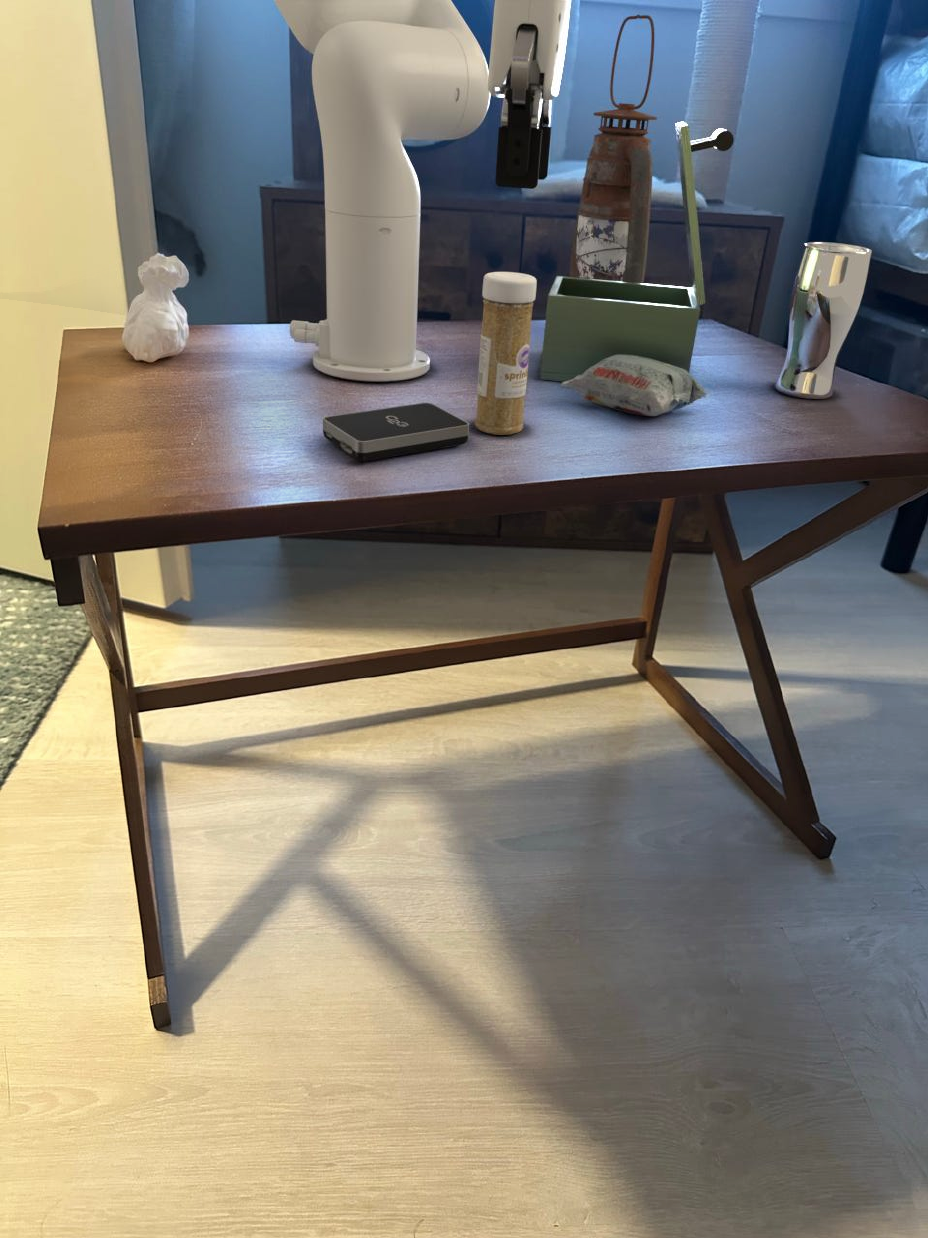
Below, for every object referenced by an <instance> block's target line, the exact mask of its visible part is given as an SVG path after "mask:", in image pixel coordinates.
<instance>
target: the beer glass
mask: <svg viewBox="0 0 928 1238" xmlns="http://www.w3.org/2000/svg"><path fill="white" fill-rule="evenodd" d="M872 252H873V250H872V249H871V248H868V247H864V246H860V245H856V244H855V245H854V244H848V243H847V244H846V243H838V242H827V241H826V242H825V241H811V242H806V243H804V248H803V252H802V255H801V258H800V262H799V264H798V269H797V271H796V275H795V279H794V283H793V287H792V293H791V297H790V298H791V299H790V305H789V321H788V337H787V339H788V340H787V348H786V349H787V350H786V355H785V360H784V364H783V366H782V369H781V371H780V374H779V376H778V378H777V381H776V383H775V389H776V390H777V391H778V392H779V393H781V394H783V395H787V396H790V397H795V398H800V399H806V400H807V399H808V400H825V399H829V398H830V397H832V396H833V393H834V382H835V372H836V366H837V362H838V359H839V356H840V353H841V351H842V348H843V346H844V345H845V341H846V339H847V337H848V335H849V332H850V330H851V329H852V326H853V323H854V321H855V319H856V317H857V313H858V312H859V309H860V305H861V302H862V300H863V295H864V293H865V287H866V284H867V279H868V274H869V268H870V261H871V257H872Z"/></svg>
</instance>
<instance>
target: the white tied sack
mask: <svg viewBox="0 0 928 1238" xmlns="http://www.w3.org/2000/svg"><path fill="white" fill-rule="evenodd" d="M137 269H138V270H137V277H138V278H139V282H140V284H141V285H142V286H143V291H142V292H141V293H139V294H137V295H136V296H135V297H134V298H133V299H132V301H131V303H130V306H129V309H128V312H127V314H126V318H125V322H124V326H123V331H122V334H121V341H122V344H123V347H124V349H126V351H127V352H128V353H129V354H130V355H131V356H132V357H133V359H134V360H135V361H143V362H147V363H153V362H155V361H157V360H158V359H159V360H160V359H164V358H167V357H173V356H178V355H179V354H180V353H181V352H182V351H183V350H184V349H185V347H186V344H187V342H188V340H189V335H190V334H189V333H190V328H189V327H190V326H189V324H188V313H187V311H186V308H185V307H184V306H183V305H182V304H181V303H180V302H179V300H178V299H177V296H176V295H175V294H174V292H173V291H176V290H177V288H185V287H186V286H187V284H188V283H189V281H190V278H189V277H190V274H189V271H188V269H187V267H186V265H185V264H184V263H183V262H182V261H181V260H180V258H178V256H177V255H171V256H166V255H165V254H164V253H160V252H157V253H155V254H154V255H153V256H150V257H149V260H145V261H144V262H143V263H142V264H141V265H139V266H138V267H137Z"/></svg>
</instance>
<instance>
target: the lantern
mask: <svg viewBox="0 0 928 1238" xmlns="http://www.w3.org/2000/svg"><path fill="white" fill-rule="evenodd" d="M637 19H639V20H642V19H643V20H644V19H647V20H648V21H649V24H650V28H651V29H650V30H651V33H650V34H651V38H650V39H651V42H650V43H651V45H650V60H649V67H648V76H647V81H646V87H645V92H644V94H643V97H642V100H641V102H640V103H639V104H638V105H636V104H635V103H622V102H619V103H618V104H617V103H616V101H615V98H614V78H615V77H614V76H615V69H616V62H617V57H618V50H619V45H620V41H621V36H622V34H623V31H624V28H625V25H626V24H627V22H628V21H630V20H637ZM654 23H655V22H654V20H653V18H652V16H650V15H648V14H642V15H640V14H639V13H638V14H636V15H629V16H627V17H626V18H624V19H623V20H622V23H621V26H620V28H619V30H618V35H617V39H616V43H615V47H614V53H613V58H612V66H611V73H610V83H609V84H610V85H609V95H610V96H609V97H610V101H611V103H612V105H613V106H614V107H615V108H617V109H610V110H603V111H595V112H593V116H595V117H601V118H600V126H599V127H598V128H597V129H598V131H600V132H601V133H597V134H594V135H593V142H592V147H591V150H590V152H589V155H588V157H587V158H586V166H585V173H584V177H583V178H582V179H583V180H582V189H581V194H580V198H579V203H578V204H579V205H578V211H577V216H576V221H575V228H574V232H573V240H572V246H571V254H570V263H569V277H576V278H587V279H598V280H609V281H620V282H632V283H643V284H645V283H644V282H645V275H646V269H647V257H648V247H649V235H650V219H651V205H652V190H653V157H652V153H651V149H650V148H651V143H652V139H651V138H649V137H647V136H645V135H648V134H649V133H650V132H649V131H648V128H649V121H657V120H658V117H657V116H654V115H651V114H648V113H644V112H641V111H637V110H639V109H640V108H642V106H644V104H645V102H646V100H647V97H648V93H649V90H650V85H651V79H652V73H653V66H654V57H655V56H654V55H655V25H654ZM608 119H609V121H608ZM614 120H618V121H617V126H614ZM624 121H625V126H623V125H624ZM632 121H635V127H631V122H632ZM645 125H646V126H645ZM609 221H614V222H615V223H614V225H613V223H612V224H611V222H609ZM611 226H613V231H611V232H609V234H610V235H612V236H609V235H608V234H607V233H605V231H604V229H607V228H608V227H611ZM595 228H596V229H598V228H599V230H601V231H602V233H600V234H598V237H597V236H596V237H595V236H594V230H595ZM618 263H620V264H619V265H618ZM611 264H616V266H615V267H616V268H615V269H613V267H610V266H611ZM595 266H596V267H598V268H599V269H598V268H596V267H595ZM601 267H603V268H601ZM593 270H594V271H597V272H594V271H593ZM616 278H617V279H616Z"/></svg>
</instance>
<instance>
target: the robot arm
mask: <svg viewBox="0 0 928 1238" xmlns="http://www.w3.org/2000/svg"><path fill="white" fill-rule="evenodd" d="M273 2H274V4H275V5H276V7H277V10H279V12H280V14H281V16H282V17H283V20H285V22H286V24H287V26H288V27H289V29H290V30H291V33H292V34H293V35H294V37H295V38H296V40H297V41H298V42H299V44H300V45H301V46H302V47H303V48H304V49H305V50H306V51H308V52H309V53H310V54H312V55H313V57H312V63H311V84H312V91H313V97H314V102H315V108H316V114H317V119H318V126H319V131H320V137H321V138H320V140H321V147H322V159H323V161H322V162H323V179H324V181H323V182H324V216H325V219H324V220H325V221H324V222H325V277H326V278H325V280H326V281H325V283H326V284H325V285H326V288H325V289H326V319H324V320H322V319H321V320H319V322H318V323H314V322H309V321H306V320H305V321H304V320H295V319H293V320H291V321H290V326H289V336H290V338H291V339H293V341H294V342H295V343H300V344H301V343H302V344H315V346H316V347H317V348H318V349H316V350H315V351H314V353H313V354H312V365H313V367H314V368H315V369H316V370H317V371H319V372H321V373H323V374H325V375H328V376H331V377H334V378H340V379H342V380H343V379H344V380H350V381H357V382H358V381H359V382H375V383H376V382H377V383H381V382H383V383H384V382H398V381H399V382H400V381H407V380H411V379H416V378H418V377H421V376H423V375H425V374H426V373H428V371H429V370H430V367H431V359H430V357H429V356H428V354H427V353H425V352H423V351H422V350H419V349H417V331H418V328H417V327H418V303H419V302H418V301H419V300H418V299H419V273H420V272H419V267H420V242H421V241H420V240H421V239H420V238H421V237H420V236H421V235H420V234H421V201H422V200H421V189H420V188H421V187H420V184H419V179H418V175H417V173H416V171H415V168H414V166H413V164H412V162H411V160H410V157H409V156H408V154H407V152H406V149H405V147H404V144H403V142H402V141H408V140H412V141H413V140H417V141H419V140H420V141H453V140H459V139H462V138H465V137H468V136H469V135H471V134H472V133H474V132H475V131H476V130H477V129H478V128H479V127H480V126H481V125H482V123H483V122H484V119H485V118H486V115H487V113H488V110H489V107H490V102H491V96H492V97H493V98H502V99H503V102H502V109H501V115H500V126H498V131H497V132H498V135H497V149H496V150H497V151H496V163H495V165H496V166H495V180H494V183H495V185H496V186H497V187H500V188H511V189H512V188H513V189H526V190H527V189H528V190H534V189H536V187H537V186H538V184H539V181H544V180H545V179H547V177H548V174H549V164H550V163H549V162H550V151H551V138H552V129H553V128H552V126H551V115H552V101H553V100H554V99H556V98H557V97H558V95H559V92H560V86H561V80H562V75H563V70H564V69H563V68H564V62H565V55H566V49H567V48H566V47H567V40H568V33H569V24H570V14H571V4H572V0H494V7H493V18H492V30H491V41H490V54H489V62H488V63H489V65H488V63H487V59H486V57H485V54H484V52H483V50H482V47H481V46H480V44H479V42H478V40H477V38H476V37H475V35H474V34H473V32H472V31H471V29H470V27H469V25H468V24H467V23H466V21H465V19H464V18H463V16H462V15H461V14H460V12H459V10H458V8H457V7H456V6H455V4H454V3H453V1H452V0H273Z"/></svg>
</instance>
